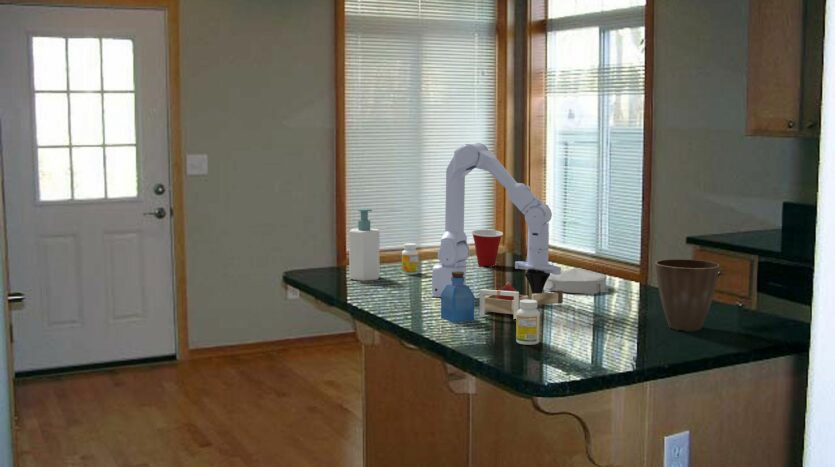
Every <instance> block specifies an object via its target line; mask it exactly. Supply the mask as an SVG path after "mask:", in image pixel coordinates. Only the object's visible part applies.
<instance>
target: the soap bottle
mask: <svg viewBox="0 0 835 467" xmlns="http://www.w3.org/2000/svg"><path fill="white" fill-rule="evenodd" d="M357 210H358V212H360V219H358V222H357V223H358V224H357V226H358V227H357V228H350V230H349V231H348V252H349V253H348V257H349V259H348V261H349V262H348V263H349V265H348V266H349V268H348V270H349V272H348V273H349V274H348V276H349V280H351V279H353V280H354V281H361V282H366V281H377V280H379V278H380V273H381V272H380V271H381V270H380V268H381V267H380V263H381V262H380V261H381V260H380V229H379V228H371V219H369V212H373V209H371V208H359V209H357Z"/></svg>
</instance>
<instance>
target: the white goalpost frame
mask: <svg viewBox="0 0 835 467" xmlns="http://www.w3.org/2000/svg"><path fill="white" fill-rule="evenodd" d="M486 295H503V296H514V314H513V320H514V319H516V317H517V311H518V310H519V295H520V292H519V291H517V292H515V291H502V290H500V289H498V290H496V289H485V288H483V289H482V288H481V289H480V290H479V318H484V317H485V316H486V311H485V296H486Z"/></svg>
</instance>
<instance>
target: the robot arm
mask: <svg viewBox="0 0 835 467" xmlns="http://www.w3.org/2000/svg"><path fill="white" fill-rule="evenodd" d="M453 153H454V154H453V157H452V158H451V160H450V162H449V163H448V165H447V167H446V170H445V173H446V174H445V218H444V221H445V226H444V227H445V228H444V232H443V235H442V236H441V239H440V246H439V248H438V250H437V258H438V260H439V262H440V264H435V265H434V266H433V268H432V273H431V294H430V296H431V297H437V298H441V293H442V292H443V290H444V289H445V287H446V286H447V285H451V284H452V281H451V277H452V272H464V275H463V277H465V281H464V282H463V285H467V262H466V261H467V260H468V258H469V256H470V254H471V253H470V251H471V249H470V247H469V243H468V237H467V234H466V233H465V196H466V195H465V192H466V191H465V187H466V186H465V182H466V176H467V175H469V173H471V172H472V171H473V170H475V169H479V170H483V171H487V172H489V174H490V175H491V176H493V178H495V179H496V180H497V181H498V182H499V184H500V185H501V186H502V187H504V188H505V189H506V191H507V197H508V199H509V200H510V201H511V202H512V204H514V206H515V207H517V209H518V210H519V212H521V213H522V214H523V215H524V219H525V222H526V224H527V255H526V258H527V259H526V261H521V260H518V261H515V262H514V268H515V270H516V269H517V270H519V269H520V270H526V271H527V272H524V276H525V277H526V279H527V281H528V284H529V286H530V290H531V293H532V294H538V293H544V292H543V291H544V289H543V288H544V285H545V283H546V281H547V279H548V277H549V276H550V274H554V275H558V274H561V271H562V267H561V266H557V265H553V264H550V263H549V245H550V242H549V240H550V231H549V230H550V224H549V223H550V221H551V219H552V216H553V213H552V210H551V208H550V207H549V204H547V203H543V200H541V198H538V197H536V195H535V194H534V193H533V192H532V191H531V189H532V188H531V186H530V185H528V184H527V185H525V183H522V182H521V183H520V182H517V181H516V180H515V178H513V176H512V174H510V172H509V171H508V170H507V169H506V167H504V165H503V163H501V161H499V159H498V157H496V155H495V154H494V152H493V151H491V150H490V149H489V148H488V147H487V146H486V145H485V144H484V143H481V142H477V143H471V144H470V143H465V144H462V145H461V146H459V147H458V148H456V150H454V151H453ZM532 294H531V295H532Z"/></svg>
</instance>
